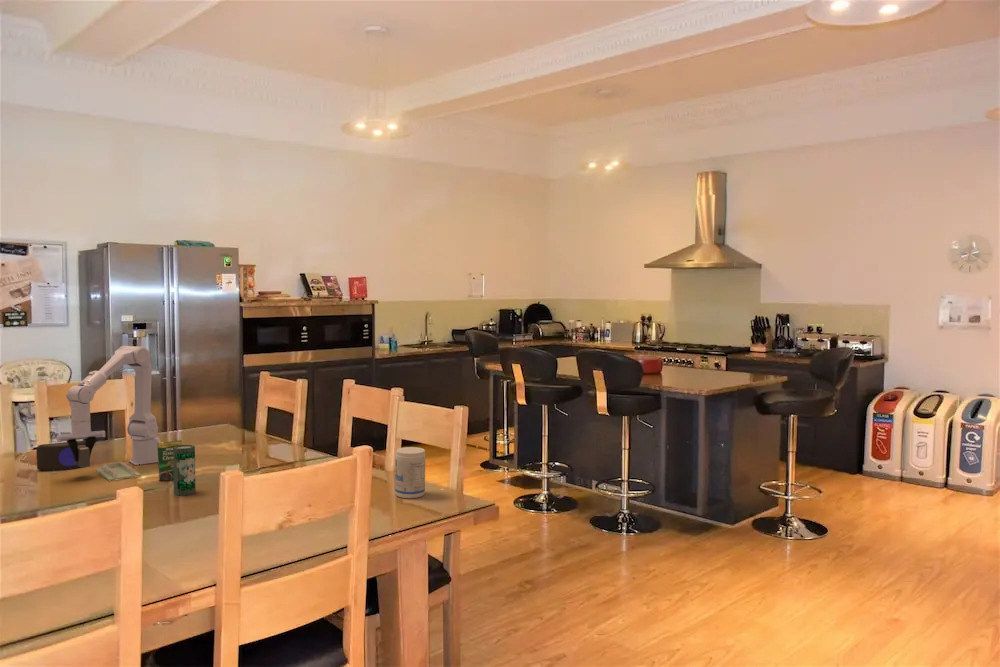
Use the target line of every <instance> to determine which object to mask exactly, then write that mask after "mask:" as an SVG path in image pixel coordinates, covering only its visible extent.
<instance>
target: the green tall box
mask: <svg viewBox="0 0 1000 667" xmlns="http://www.w3.org/2000/svg"><path fill="white" fill-rule="evenodd" d="M173 469H174V480H173V495H174V496H182V497H183V496H190V495H193V494H196V492H197V490H196V446H195V445H193V444H182V445H179V446H175V447H173Z"/></svg>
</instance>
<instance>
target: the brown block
mask: <svg viewBox="0 0 1000 667" xmlns="http://www.w3.org/2000/svg"><path fill="white" fill-rule="evenodd" d="M75 464H77V465H78V466H79V467H80V468H86V467H91V455H90V449H89V448H88V447H86V446H85V445H78V461H75Z"/></svg>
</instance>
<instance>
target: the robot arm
mask: <svg viewBox="0 0 1000 667" xmlns="http://www.w3.org/2000/svg"><path fill="white" fill-rule="evenodd" d="M123 365H127V366H129V367H130V368H131V369H133V370H134V371H135V377H134V378H135V380H134V408H133V409H134V411H133V414H132V415H131V416H129V418H128V419H129V420H128V424H127V427H126V431H127V435H129V436H130V439H131V445H132V447H131V448H132V459H129V462H130V463H131V464H133V465H134V466H139V464H140V465H145V464H154V463H158V447H157V443H159V442H161V440H160V437H158V436H157V435H158V431H159V425H158V423H157V417H156V416H155V415H154V414H152V412H151V411H152V410H151V409H152V407H151V406H152V375H153V374H152V371H153V370H152V368H153V365H152V362H151V351H150V350H149V349H148V348H147V347H145V346H141V345H140V346H133V345H126V344H125V345H121V346H120V347H119V348H117V349H116V350H115V351H114V354H113V356H112V357H111V358H110V359H109V360H108V361H107V362H106V363H104V365H103V366H102V367H101V368H100V369H99V370H93V371H89V372H88V375H87V376H86V377H84V378H83V379H82V380H80V381H78V382H79V383H78V384H77V385H73V386H71V387H70V388H69V389H68V391H67V393H66V394H65V397H66V399H67V401H68V402H69V406H70V420H71V433H67V434H61V435H56V443H63V442H67V443H68V444H69V446H70V448H71V450H72V453H73V456H74V460H75V461H78V443H77V441H79V440H84V441H85V442H86V447H88V448H89V449H90V456H91V455H92V451H93V448H94V447H95V444H96V442H97V438H106V431H105V430H94V431H92V429H91V424H92V423H91V401H93V399H94V397H95V394H96V393H97V392H98V391H99V389H101V388H102V387H103V386H104V385H105V384H107V380H108V378H109V376H110V375H112V374H113V373H114V372H116V371H117V370H118V369H119V368H120V367H122V366H123Z"/></svg>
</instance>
